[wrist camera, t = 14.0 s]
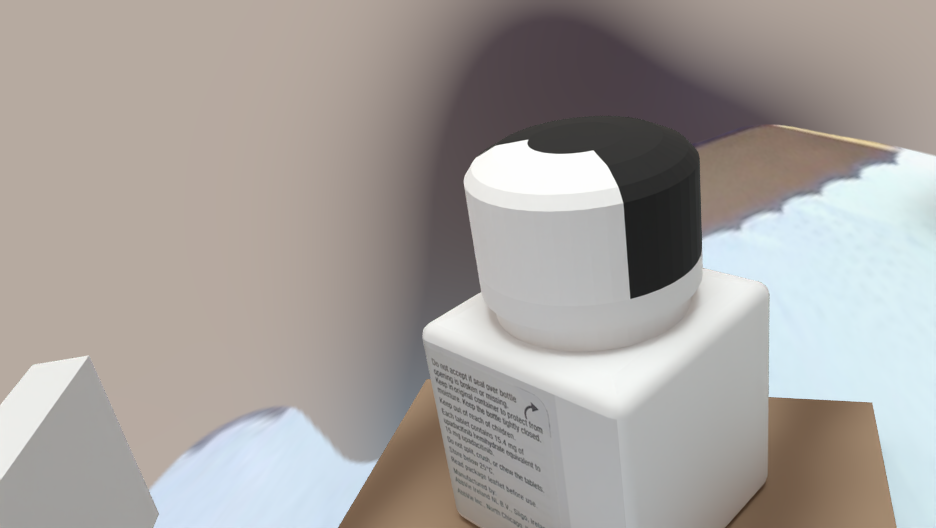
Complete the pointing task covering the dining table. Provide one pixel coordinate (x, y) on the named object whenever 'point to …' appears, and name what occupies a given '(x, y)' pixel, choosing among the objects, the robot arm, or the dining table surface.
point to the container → (599, 340)
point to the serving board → (757, 524)
